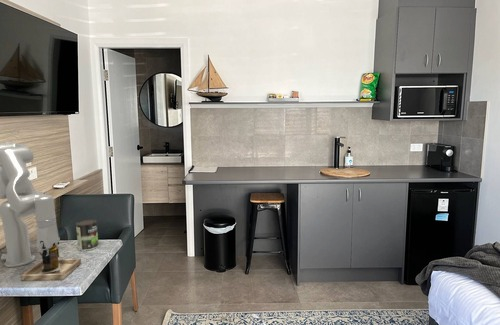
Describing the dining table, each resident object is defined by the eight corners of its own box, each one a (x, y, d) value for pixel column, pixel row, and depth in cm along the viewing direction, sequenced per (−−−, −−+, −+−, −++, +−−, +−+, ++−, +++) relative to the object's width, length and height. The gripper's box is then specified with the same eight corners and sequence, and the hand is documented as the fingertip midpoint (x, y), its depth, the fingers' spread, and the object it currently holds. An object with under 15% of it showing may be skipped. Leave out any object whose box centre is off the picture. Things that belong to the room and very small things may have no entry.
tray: (21, 281, 150) (20, 275, 149) (43, 264, 166) (42, 259, 166) (62, 280, 150) (62, 274, 149) (81, 263, 166) (80, 258, 165)
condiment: (59, 263, 162) (56, 239, 160) (60, 270, 155) (57, 244, 153) (41, 267, 158) (38, 242, 157) (41, 274, 151) (38, 248, 149)
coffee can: (103, 244, 190) (100, 219, 188) (89, 251, 180) (87, 225, 178) (87, 242, 193) (85, 218, 191) (73, 250, 183) (70, 224, 181)
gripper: (49, 217, 163) (53, 253, 165) (25, 229, 146) (31, 269, 148) (65, 216, 163) (69, 252, 165) (43, 229, 146) (48, 268, 148)
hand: (51, 260), depth 157 cm, fingers closed on condiment, 6 cm apart
